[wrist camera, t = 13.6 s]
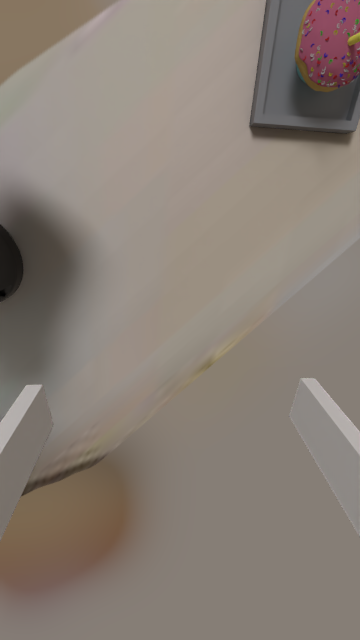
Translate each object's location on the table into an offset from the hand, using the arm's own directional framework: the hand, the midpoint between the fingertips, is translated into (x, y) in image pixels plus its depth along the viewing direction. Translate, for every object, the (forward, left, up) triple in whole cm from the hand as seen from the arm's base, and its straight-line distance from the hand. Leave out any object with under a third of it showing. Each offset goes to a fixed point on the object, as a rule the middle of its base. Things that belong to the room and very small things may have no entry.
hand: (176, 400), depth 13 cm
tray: (+18, +26, -32) cm, 44 cm away
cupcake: (+18, +25, -31) cm, 44 cm away
